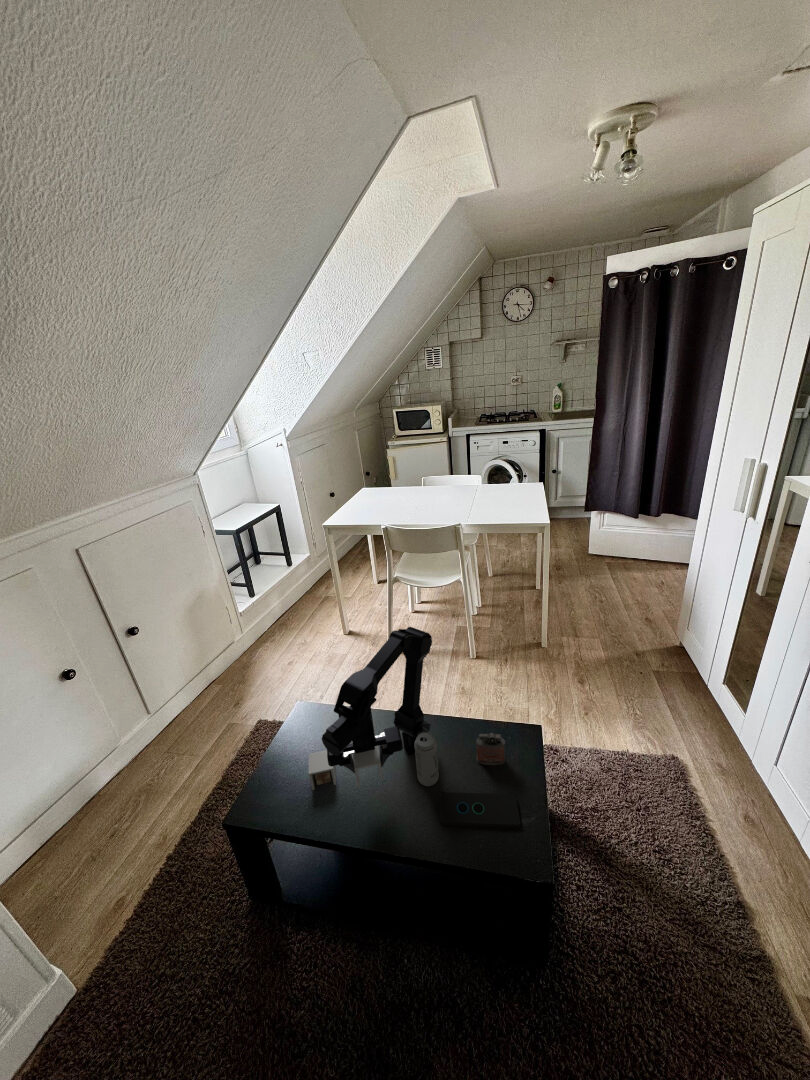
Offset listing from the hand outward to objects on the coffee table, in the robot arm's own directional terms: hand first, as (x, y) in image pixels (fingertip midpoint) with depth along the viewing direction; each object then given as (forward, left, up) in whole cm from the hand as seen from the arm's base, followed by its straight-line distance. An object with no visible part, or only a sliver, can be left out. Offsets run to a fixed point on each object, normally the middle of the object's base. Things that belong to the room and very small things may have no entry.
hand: (368, 768), depth 110 cm
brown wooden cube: (+13, -10, -12) cm, 20 cm away
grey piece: (+13, -10, -12) cm, 20 cm away
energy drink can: (-16, -2, -12) cm, 20 cm away
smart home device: (-26, +10, -12) cm, 31 cm away
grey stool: (0, 0, -1) cm, 1 cm away
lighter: (-35, -3, -12) cm, 37 cm away
